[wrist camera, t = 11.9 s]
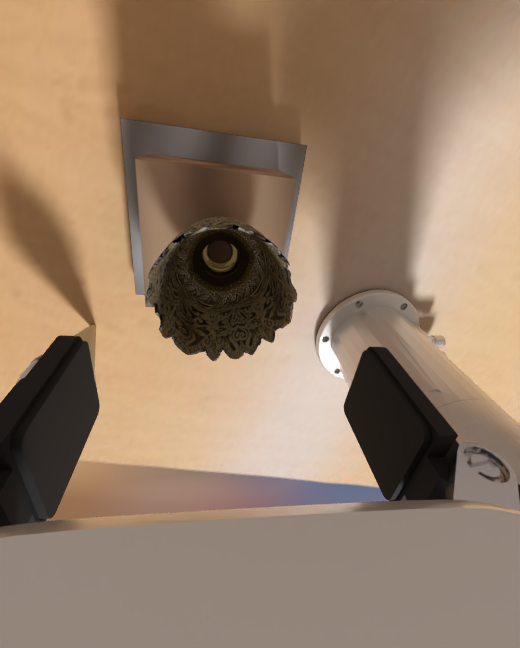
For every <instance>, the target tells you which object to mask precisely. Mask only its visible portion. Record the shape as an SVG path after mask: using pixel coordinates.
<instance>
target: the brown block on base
mask: <svg viewBox="0 0 520 648" xmlns="http://www.w3.org/2000/svg"><path fill="white" fill-rule="evenodd" d="M121 129H122V141H123V153H124V164H125V176H126V187H127V199H128V210H129V222H130V233H131V245H132V256H133V268H134V279H135V291H136V294H138V295H145V305H146V307H150V306H147V304H146V294H147V290H148V288H149V284H148V276H149V272H150V270H151V268H152V266H153V264H154V263H155V261H156V260H157V259H158V257H159V256H160V255H161V253H162V252H163V251H164V250H165V249H166V247H167V246H168V245H169V244H170V243H171V242H172V241H173V240H174V238H175V237H176V236H177V235H178V234H180V233H181V232H182V231H183V230H184V229H185V228H187V227H188V226H190V225H192V224H193V223H195V222H197V221H200V220H203V219H206V218H211V217H228V218H233V219H237V220H240V221H242V222H244V223H247V224H248V225H250V226H252V227H253V228H255V229H256V230H257V231H259V232H260V233H261V234H262V235H264V236H265V237H266V238H267V239H268V240H270V241H271V242H272V243H274V244H275V245H276V246H277V247H278V248H279V250H280V251H281V253H282V255H283V256H284V257H285V258H286V259H287V257H288V251H289V246H290V240H291V234H292V229H293V223H294V217H295V211H296V206H297V200H298V194H299V189H300V183H301V177H302V171H303V166H304V160H305V154H306V149H307V145H300V144H293V143H286V142H279V141H273V140H266V139H259V138H252V137H245V136H238V135H232V134H225V133H218V132H211V131H204V130H197V129H191V128H184V127H177V126H170V125H163V124H156V123H150V122H143V121H136V120H129V119H122V118H121ZM208 253H209V256H210V258H211V259H212V260H213V261H215V262H217V263H223V262H226V261H227V260H228V259H229V258H230V256H231V247H230V246H229V244H228V243H226V242H224V241H215V242H213V243H212V244H211V245H210V247H209V250H208ZM153 307H154V306H153Z"/></svg>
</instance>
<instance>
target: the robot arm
mask: <svg viewBox="0 0 520 648" xmlns="http://www.w3.org/2000/svg"><path fill="white" fill-rule="evenodd" d="M444 345H445V338H444V337H443V336H428V335H427V334H426V333H425V332H424V331H423V330H422V329H421V328H420V327H419V317H418V314H417V311H416V309H415V308H414V306H413V305H412V304H411V303H410V302H409V301H408V300H407V299H406V298H405V297H403V296H401V295H400V294H398V293H396V292H392V291H389V290H370V291H365V292H362V293H358V294H356V295H353V296H351V297H349V298H347V299H346V300H344V301H343V302H341V303H340V304H338V305H337V306H336V307H335V308H334V309H333V310H332V311H331V312H330V313H329V314H328V315H327V317H326V318H325V319H324V320H323V322H322V324H321V326H320V328H319V331H318V334H317V337H316V351H317V355H318V357H319V359H320V361H321V363H322V365H323V367H324V368H325V369H326V370H327V371H328V372H329V373H331V374H332V375H334V376H337V377H339V378H342V379H345V381H346V383H347V384H348V386H349V388H350V389H349V392H348V395H347V398H346V400H345V403H344V412H345V415H346V417H347V419H348V421H349V423H350V425H351V428H352V430H353V432H354V434H355V436H356V438H357V440H358V443H359V445H360V447H361V449H362V451H363V453H364V455H365V457H366V460H367V462H368V464H369V466H370V468H371V470H372V472H373V475H374V477H375V479H376V481H377V483H378V485H379V487H380V489H381V492H382V494H383V496H384V497H385V498H386V499H387V500H390V501H382V502H361V503H340V504H320V505H301V506H285V507H284V506H283V507H263V508H246V509H227V510H209V511H192V512H177V513H159V514H142V515H125V516H109V517H96V518H83V519H70V520H58V521H46V519H48V518H52V517H53V516H54V515H55V513H56V511H57V508H58V506H59V504H60V501H61V499H62V497H63V494H64V492H65V490H66V487H67V485H68V483H69V480H70V478H71V476H72V473H73V471H74V469H75V466H76V464H77V462H78V460H79V457H80V455H81V453H82V450H83V448H84V446H85V443H86V441H87V439H88V436H89V434H90V432H91V429H92V427H93V425H94V422H95V420H96V418H97V415H98V412H99V399H98V393H97V388H96V382H95V377H94V372H93V366H92V361H91V355H90V350H89V345H88V342H87V341H82V338H81V337H80V336H58V337H57V338H56V339H55V340H54V342H53V343H52V344H51V345H50V347H49V348H48V349H47V350H46V352H45V353H44V354H43V355H42V357H41V358H40V359H39V360H38V361H37V363H36V364H35V365H34V366H33V368H32V369H31V370H30V371H29V373H28V374H27V375H26V376H25V377H24V378H22V379H21V380H20V381H18V382H17V384H16V385H15V386H14V387H13V388H12V390H11V391H10V392H9V393H8V395H7V396H6V397H5V398H4V400H3V401H2V402H1V403H0V648H520V425H519V424H518V423H517V422H516V421H515V420H514V419H513V418H512V417H511V416H510V415H509V414H508V413H506V412H505V411H504V410H503V409H502V408H501V407H500V406H499V405H498V404H497V403H496V402H494V401H493V400H492V399H491V398H490V397H489V396H488V395H487V394H486V393H485V392H484V391H483V390H482V389H481V388H480V387H479V386H477V385H476V384H475V383H474V382H473V381H472V380H471V379H470V378H469V377H468V376H467V375H466V374H465V373H464V372H463V371H462V370H460V369H459V368H458V367H457V366H456V365H455V364H454V363H453V362H452V361H451V360H450V359H449V358H448V357H447V356H446V354H445V353H444V352H443V351H440V350H439V349H438V348H437V347H444Z"/></svg>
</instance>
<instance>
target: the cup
mask: <svg viewBox="0 0 520 648" xmlns="http://www.w3.org/2000/svg"><path fill="white" fill-rule="evenodd" d="M215 241H224V242H226V243H228V244H229V246H230V247H231V256H230V258H229V259H228V260H227V261H226V262H223V263H217V262H215V261H213V260H212V259H211V258H210V256H209V253H208V250H209V247H210V245H211V244H212V243H213V242H215ZM288 265H289V262H288V261H287V259H286V258H285V257H284V256H283V255H282V253H281V251H280V250H279V248H278V247H277V246H276V245H275V244H274V243H272V242H271V241H270V240H268V239H267V238H266V237H265V236H264V235H262V234H261V233H260V232H259V231H257V230H256V229H255V228H253V227H252V226H250V225H248V224H247V223H244V222H242V221H240V220H237V219H233V218H228V217H211V218H206V219H203V220H200V221H197V222H195V223H193V224H192V225H190V226H188V227H187V228H185V229H184V230H183V231H182V232H181V233H180V234H178V235H177V236H176V237H175V238H174V240H173V241H172V242H171V243H170V244H169V245H168V246H167V247H166V249H165V250H164V251H163V252H162V253H161V255H160V256H159V257H158V259H157V260H156V261H155V263H154V264H153V266H152V268H151V270H150V272H149V276H148V284H149V288H148V290H147V294H146V304H147V306H150V307H153V306H154V307H155V313H156V315H158V316H159V318H160V320H161V325H160V328H159V330H160V332H161V334H162V336H163V337H164V338H171V337H172V339H173V341H174V343H175V345H176V346H177V347H178V348H179V349H180V350H181V351H182V352H184V353H185V354H187V355H193V354H197V353H199V352H205V351H206V353H207V354H206V355H207V356H208V357H209V359H211V360H212V361H216V360H217V358H218V357H219V356H220V354H219V353H221V352H222V351H223V350H224V352H225V353H226V354H227V355H228V356H229V357H230V358H232V359H239V358H240V357H242V356H243V355H244V352H245V353H248V354H250V355H253V354H254V352H255V351H256V349H257V347H258V345H260V343H261V339H262V338H263V339H264V340H266V341H268V342H271V343H272V342H274V338H275V331H276V330H277V329H279V328H284V327H285V326H286V325H288V324H289V323H290V322H291V319H292V310H293V302H296V300H297V293H296V289H295V288H294V287H293V285H292V283H291V278H290V276H291V273H290V271H289V269H288ZM289 266H290V265H289ZM222 349H223V350H222Z"/></svg>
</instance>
